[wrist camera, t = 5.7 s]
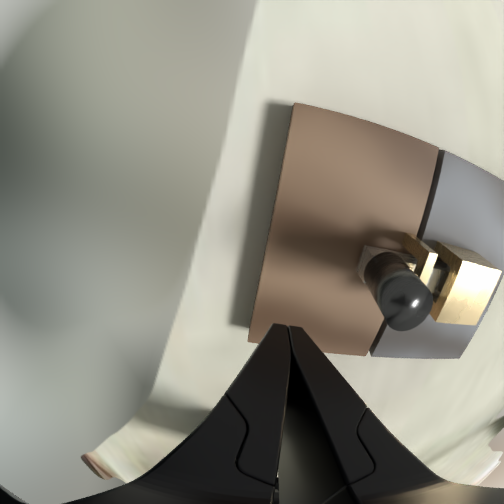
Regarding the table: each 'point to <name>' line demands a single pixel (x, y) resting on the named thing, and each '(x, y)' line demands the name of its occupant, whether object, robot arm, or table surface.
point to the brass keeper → (455, 280)
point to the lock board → (367, 231)
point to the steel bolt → (400, 286)
